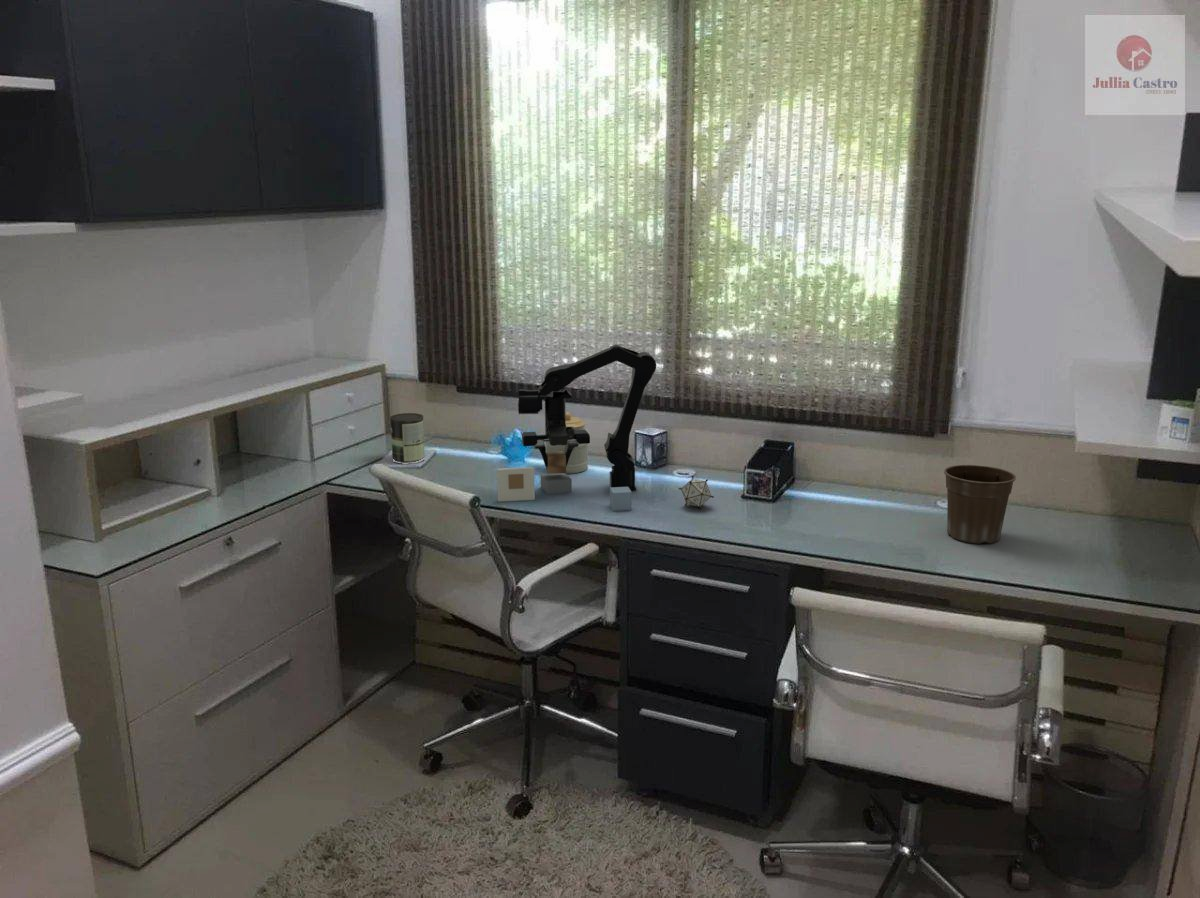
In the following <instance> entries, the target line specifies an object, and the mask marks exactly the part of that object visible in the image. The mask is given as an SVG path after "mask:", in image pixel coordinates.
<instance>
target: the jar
mask: <svg viewBox="0 0 1200 898" xmlns="http://www.w3.org/2000/svg"><path fill="white" fill-rule="evenodd" d="M565 414H566V427H572V426H573V427H574V430H586V431H587V432H588V433H589V429H587V428H586V427H585V426H586V422H585V421H584V420H582V419H581V418H580V417H576V416H572V414H571V413H570V412H568V411H565ZM577 443H578V442H577ZM545 444H546V445H545V447H546V452H559V451H564V453H565V445H556V446H552V445H550V442H549V441H545ZM588 445H589V443H588V444H579V443H578V447H575V448H574V449H573V451H572V453H571V455H570V458H569V461H568V464H567V467H566V473H565V474H566V475H568V474H578V473H582V472H584V471H586V470H588V467H589V454H588V453H589V448H588V447H589V446H588Z"/></svg>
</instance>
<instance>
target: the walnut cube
mask: <svg viewBox="0 0 1200 898" xmlns="http://www.w3.org/2000/svg"><path fill="white" fill-rule="evenodd" d="M546 456H547V468H546V467H545V468H546V469H545V470H546V471H547V474H556V473H566V455H565V453H564V451H559V452H546Z"/></svg>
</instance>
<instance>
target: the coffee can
mask: <svg viewBox="0 0 1200 898" xmlns="http://www.w3.org/2000/svg"><path fill="white" fill-rule="evenodd" d="M389 420H390V421H389V423H390V438H391V439H390V441H391V454H392V455H391V457H392V458H393V459H394V460H395V461H397V462H401V463H412V462H416V461H419V460H421V459H423V458H424V457H425V458H426V455H425V453H426V452H425V438H424V437H425V435H424V432H425V431H424V415H423V414H421V413H414V412H408V413H406V412H405V413H397V414H393V415H391V416H389ZM392 458H391V459H392Z"/></svg>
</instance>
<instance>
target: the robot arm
mask: <svg viewBox="0 0 1200 898" xmlns="http://www.w3.org/2000/svg"><path fill="white" fill-rule="evenodd" d="M615 362H618V363H621V364H623V365H625V366H628V367H629V368H631V369H632V370H631V381H630V385H629V387H628V392H627V395H626V398H625V401H624V405H623V408H622V410H621V413H620V416H619V420H618V423H617V426H616V429H615V430H614V432H613V433H611V432H608V433H607V438H606V442H605V443H604V445H603V446H604V450H605V454H606V458H607V460H608V462H609V463H610V464H612V465H611V471H609V486H610V488H611V487H629V489H630V490H631V491H637V487H636V467H635V466H636V464H635V461H634V458H633V456H632V455H631V454H630V453H629V447H630V446H629V445H630V435H631V432H632V428H633V425H634V422H635V418H636V416H637V413H638V410H639V407H640V403H641V401H642V398H643V394H644V391H645V389H646V387H647V385H648V384H649V382H650V381H651V379H652V377H653V375H654V373H655V372H656V369H657V361H656V360H655V358H654V357H653V355H652V354H651V353H650V352H646V351H641V352H638V351H635V350H632V349H629V348H625V347H623V346H621V345H619V344H613V345H611V346H610V347H608V348H606V349H604V350H601V351H599V352H597V353H596V352H595V353H594V354H591V355H589V356H587V357H584V358H582V359H580V360H578V361H576V362H572V363H569V364H562V365H557V366H553V367H550V368H548V369H547V370H546V371H545V374H544V379H543V381H542V383H541V384H540V385H538V388H537V389H522V388H521V389H518V400H517V401H518V402H517V408H518V409H517V410H518V415H538V414H539V413H540V412H541V411H543V399H544V424H545V425H544V427H545V428H544V430H545V432H544V433H545V434H537V433H536V431H523V432H522V433H521V443H522V446H523V447H534V448H535V449H537V450H539V453H540V454H541V457H542V460H543V463H544V466H545V468H547V456H546V445H545V443H546V441H549V442H550V445H552V446H556V445H565V455H566V467H567V464H568V461H569V458H570V455H571V453H572V451H573V449H574V448H575V447H578V443H579V444H588V445H589V444H590V443H591V436H590V434H589V431H588V432H587V431H586V430H574V427H573V426H572V427H566V414H565V412H566V399H572V398H573V395H572V393H571V392H570V391H569V390H568V388H566V387H567V386H569V385H570V384H571V383H573V381H575V380H577V379H579V378H580V377H583V376H584V375H587V374H589V373H591V372H594V371H597V370H598V369H600V368H603V367H605V366H607V365H610V364H612V363H615ZM562 389H563V390H562ZM561 390H562V391H561ZM577 442H578V443H577Z"/></svg>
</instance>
